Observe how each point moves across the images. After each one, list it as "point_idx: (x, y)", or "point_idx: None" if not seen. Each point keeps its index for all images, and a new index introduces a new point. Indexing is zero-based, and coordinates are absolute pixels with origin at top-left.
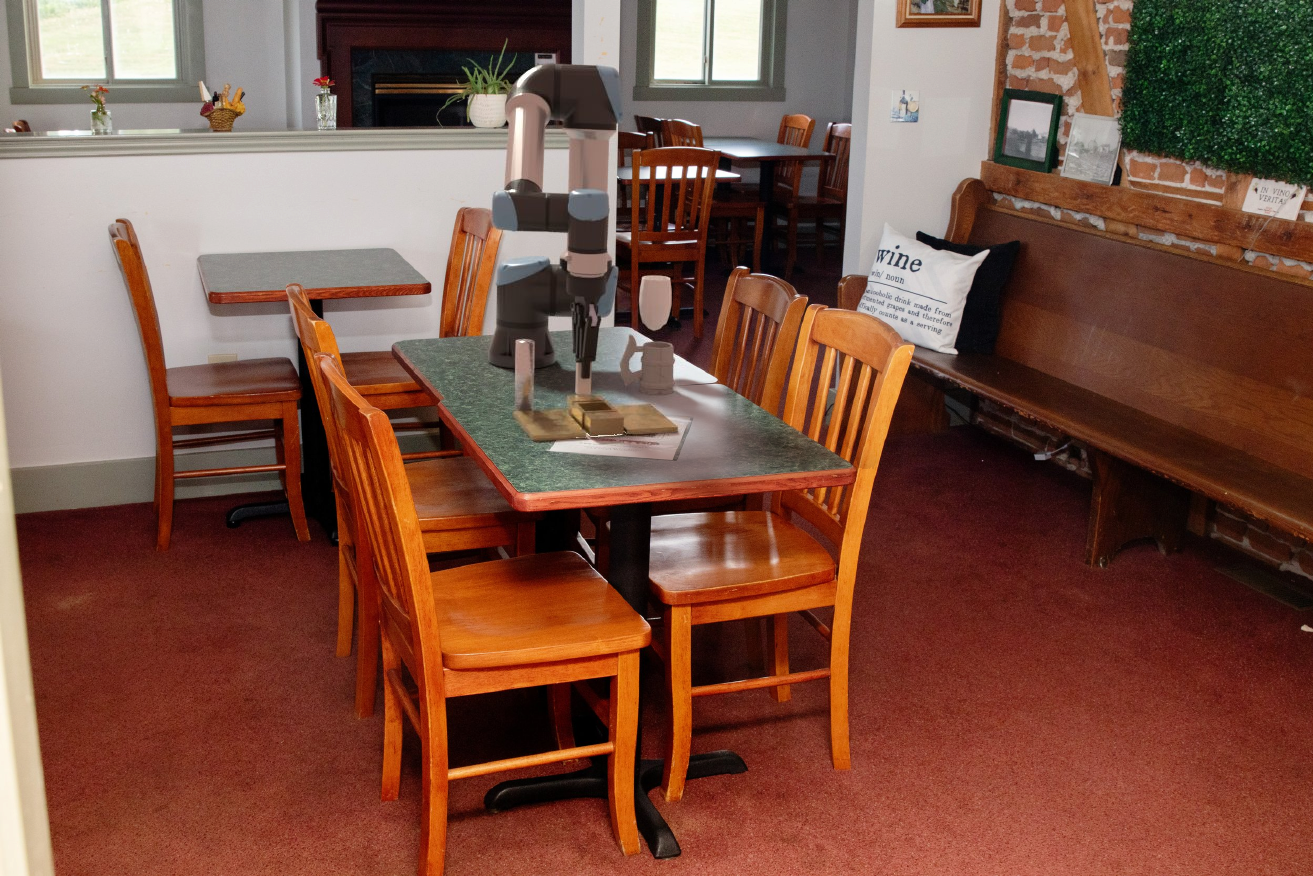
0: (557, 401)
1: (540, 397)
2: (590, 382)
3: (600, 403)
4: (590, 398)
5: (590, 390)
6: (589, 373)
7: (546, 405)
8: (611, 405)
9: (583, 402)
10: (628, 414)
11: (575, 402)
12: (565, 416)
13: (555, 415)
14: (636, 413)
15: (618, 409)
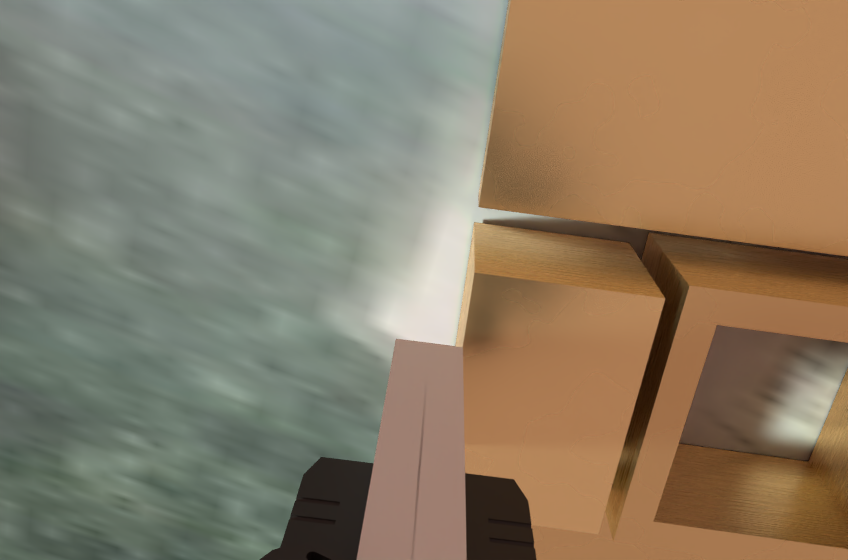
0: (142, 367)
1: (36, 424)
2: (461, 411)
3: (703, 352)
4: (581, 394)
5: (462, 365)
6: (528, 529)
7: (225, 458)
8: (843, 313)
9: (647, 473)
10: (794, 99)
11: (619, 520)
12: (606, 517)
13: (562, 557)
14: (800, 9)
15: (614, 115)
